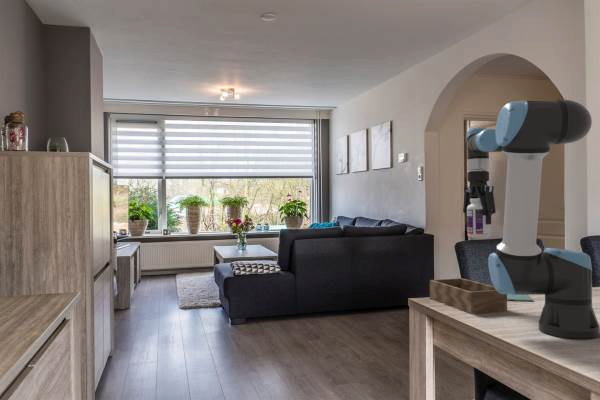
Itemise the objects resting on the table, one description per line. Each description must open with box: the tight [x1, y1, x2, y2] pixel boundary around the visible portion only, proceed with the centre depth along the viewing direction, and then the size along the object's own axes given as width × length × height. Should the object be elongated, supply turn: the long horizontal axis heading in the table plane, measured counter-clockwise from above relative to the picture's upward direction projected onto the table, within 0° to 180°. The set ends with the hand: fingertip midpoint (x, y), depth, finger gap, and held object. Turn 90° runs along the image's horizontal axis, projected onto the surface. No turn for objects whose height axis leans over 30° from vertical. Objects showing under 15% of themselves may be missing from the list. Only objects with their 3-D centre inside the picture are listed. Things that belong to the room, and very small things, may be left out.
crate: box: [429, 277, 508, 314], centre depth 173 cm, size 26×14×7 cm, turn 15°
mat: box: [507, 294, 534, 302], centre depth 184 cm, size 14×14×1 cm
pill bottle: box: [466, 198, 492, 239], centre depth 177 cm, size 8×8×14 cm
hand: (479, 232), depth 177 cm, fingers closed on pill bottle, 8 cm apart
